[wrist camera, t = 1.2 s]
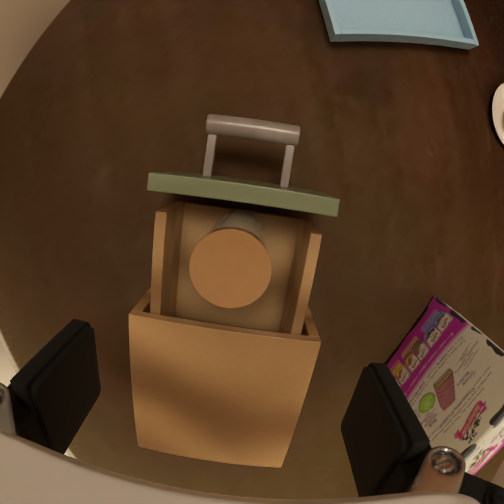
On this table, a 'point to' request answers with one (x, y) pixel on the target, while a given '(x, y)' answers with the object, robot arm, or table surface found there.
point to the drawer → (239, 190)
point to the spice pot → (232, 261)
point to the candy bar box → (453, 383)
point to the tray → (400, 21)
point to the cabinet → (218, 387)
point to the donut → (499, 112)
